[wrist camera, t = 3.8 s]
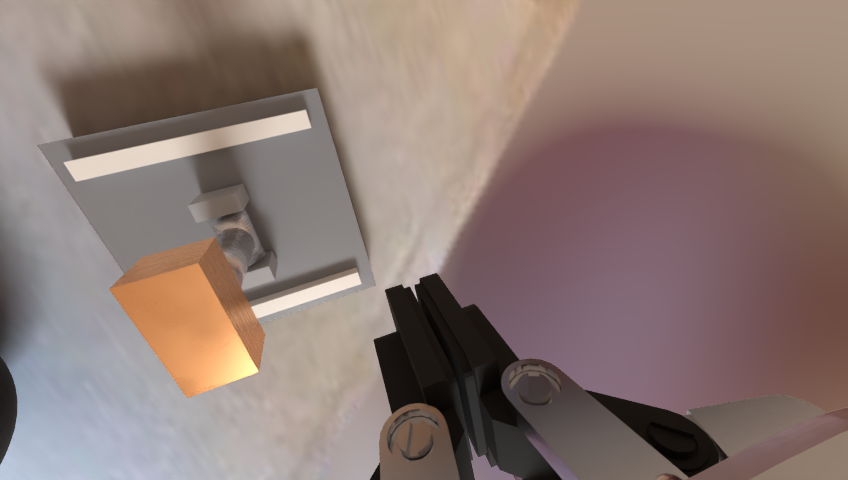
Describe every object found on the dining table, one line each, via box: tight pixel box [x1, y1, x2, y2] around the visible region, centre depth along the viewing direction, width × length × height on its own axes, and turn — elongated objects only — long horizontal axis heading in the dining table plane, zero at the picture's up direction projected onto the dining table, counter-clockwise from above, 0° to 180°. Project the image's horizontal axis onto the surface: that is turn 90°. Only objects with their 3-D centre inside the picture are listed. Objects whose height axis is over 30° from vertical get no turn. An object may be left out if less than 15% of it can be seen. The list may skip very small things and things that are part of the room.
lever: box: [109, 209, 265, 398], centre depth 17 cm, size 5×3×10 cm, turn 11°
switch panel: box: [37, 88, 376, 324], centre depth 22 cm, size 14×14×6 cm
